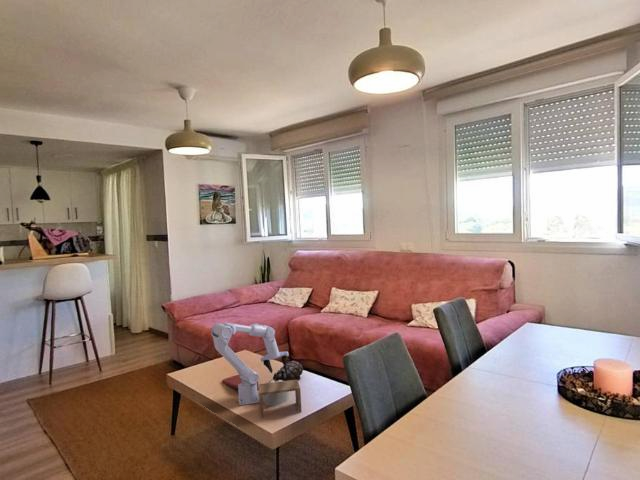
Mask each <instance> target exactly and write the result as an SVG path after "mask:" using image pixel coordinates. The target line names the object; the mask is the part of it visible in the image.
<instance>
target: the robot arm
mask: <svg viewBox="0 0 640 480" xmlns="http://www.w3.org/2000/svg"><path fill="white" fill-rule="evenodd" d="M236 333H248V335H249V336H251V337H259V338H262V339H263V341H264V346H265V349H266V352H267V354H266V355H264V356H261V357H260V361H261V363H263V365H264V366H265V367H266V368H267V369H268V371H269V372H270V374H272V373H273V368H272V364H271V360H276V359H279V358H280V359H281V362H282V365H283V366H284V369H285V370H286V368H287V367H286V364H287V357H289V352H288V351H279V347H278V344H277V341H276V337H275V334H276V330H275V329H274V328H273V327H271V326H269V325H265V324H259V323H256V322H254V324H253V323H251V324H250V325H245V324H244V325H243V324H239V323H233V322H223V323H222V322H216V323H215V324H214V325H213V326H212V328H211V333H210V335H211V336H212V340H213V345H214V348H215V350H216V351H217V352H218V353H219V355H221V356H222V357H223V358H224V359H225V360H226V361H227V362H228V363H229V364H230V365H231V367H233V368H234V369H235V371H236V373H237V375H239V377H240V378H241V379H242V383H241V384H238V388H237V389H238V395H237V398H238V405H239V406H242V405H243V406H244V405H249V404H257V403H260V397H259V393H258V391H257V382H258V383H259V380H260V374H259V373H258V372H257V371H254V370H253V369H252V368H250V367H249V366H248V365H247V364H246V363H245V362H244V361H243V360H242V359H241V358H240V357H239V356H238V355H237V354H236V353H235V352H234V351H233V349H232V348H230V347H229V345H228V344H229V342H230V340H231V337H232V335H235V334H236Z"/></svg>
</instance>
